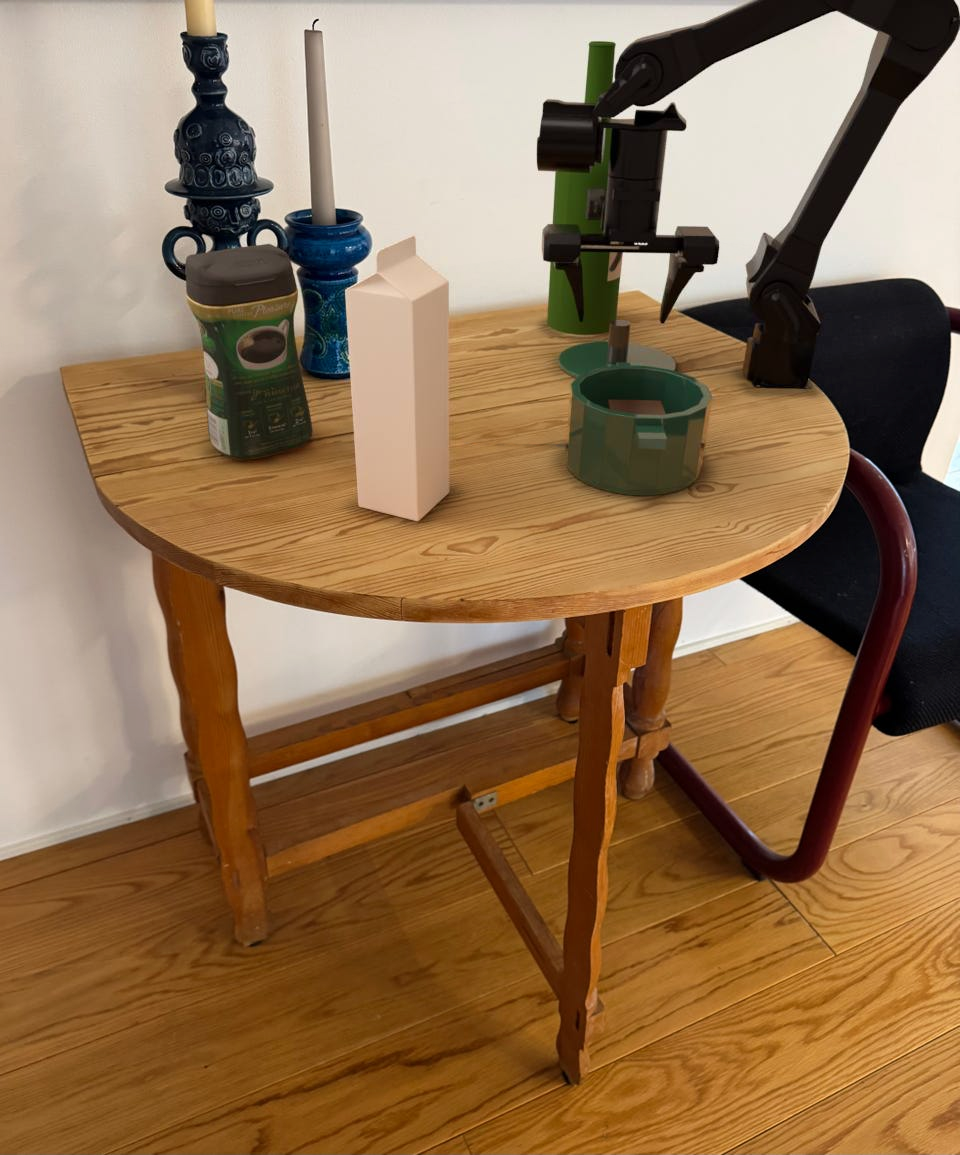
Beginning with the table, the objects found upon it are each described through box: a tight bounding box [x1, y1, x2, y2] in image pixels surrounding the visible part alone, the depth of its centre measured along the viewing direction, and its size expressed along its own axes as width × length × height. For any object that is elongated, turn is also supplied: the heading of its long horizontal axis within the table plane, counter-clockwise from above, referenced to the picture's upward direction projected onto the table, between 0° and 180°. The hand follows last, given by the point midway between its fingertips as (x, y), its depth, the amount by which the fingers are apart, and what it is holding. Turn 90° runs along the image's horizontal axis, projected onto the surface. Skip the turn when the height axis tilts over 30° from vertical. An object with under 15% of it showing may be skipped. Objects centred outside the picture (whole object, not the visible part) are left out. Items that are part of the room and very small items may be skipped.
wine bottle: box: [546, 40, 624, 336], centre depth 115 cm, size 9×9×32 cm
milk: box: [344, 235, 450, 522], centre depth 78 cm, size 6×6×22 cm
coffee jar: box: [184, 243, 314, 461], centre depth 88 cm, size 10×8×19 cm
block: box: [607, 400, 666, 415], centre depth 89 cm, size 5×5×5 cm
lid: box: [557, 319, 677, 379], centre depth 110 cm, size 14×14×6 cm
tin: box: [565, 362, 713, 497], centre depth 88 cm, size 13×18×8 cm
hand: (621, 321), depth 108 cm, fingers open, 9 cm apart
